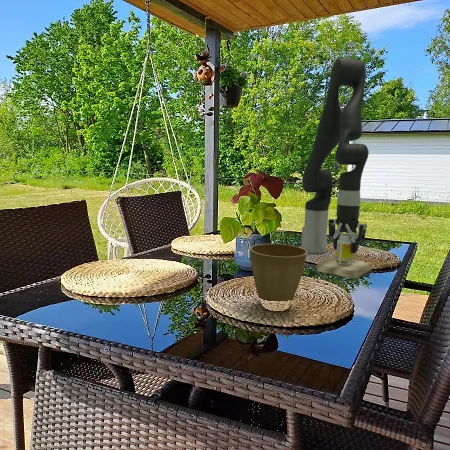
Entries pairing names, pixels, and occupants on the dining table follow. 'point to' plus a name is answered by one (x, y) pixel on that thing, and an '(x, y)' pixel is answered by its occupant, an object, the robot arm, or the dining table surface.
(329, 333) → the dining table surface
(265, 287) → the plant pot
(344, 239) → the supplement bottle
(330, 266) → the birch board
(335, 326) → the dining table surface
